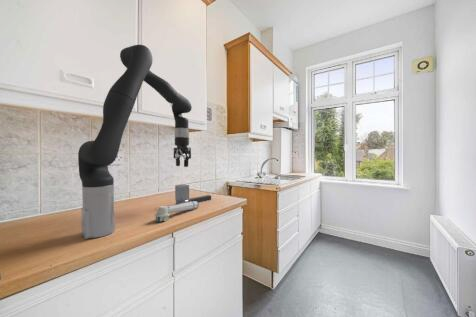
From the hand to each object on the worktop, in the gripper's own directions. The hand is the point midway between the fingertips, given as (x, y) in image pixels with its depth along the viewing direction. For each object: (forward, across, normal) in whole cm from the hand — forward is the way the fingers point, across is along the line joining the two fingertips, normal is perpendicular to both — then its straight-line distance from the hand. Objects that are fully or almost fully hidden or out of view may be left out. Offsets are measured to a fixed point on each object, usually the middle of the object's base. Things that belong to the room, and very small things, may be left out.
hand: (182, 166), depth 110 cm
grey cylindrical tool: (+22, +13, -10) cm, 28 cm away
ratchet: (+21, 0, +8) cm, 23 cm away
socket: (+18, 0, 0) cm, 18 cm away
